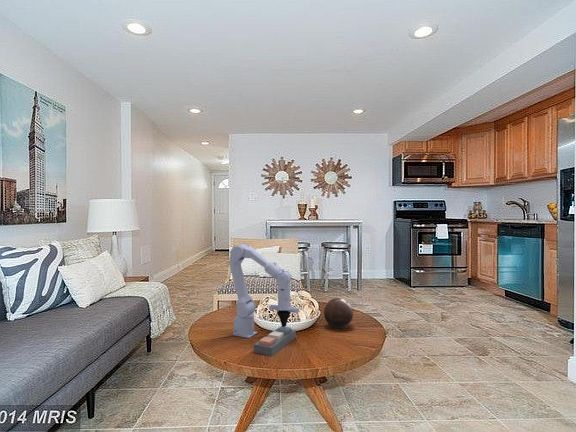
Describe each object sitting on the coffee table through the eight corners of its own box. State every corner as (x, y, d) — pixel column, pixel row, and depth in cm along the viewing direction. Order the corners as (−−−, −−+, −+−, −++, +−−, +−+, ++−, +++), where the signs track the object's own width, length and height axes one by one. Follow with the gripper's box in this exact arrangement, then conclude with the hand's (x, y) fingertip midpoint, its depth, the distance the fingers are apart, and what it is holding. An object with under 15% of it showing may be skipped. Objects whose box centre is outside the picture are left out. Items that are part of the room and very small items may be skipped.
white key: (268, 340, 155) (268, 334, 155) (273, 336, 160) (273, 331, 160) (278, 341, 153) (278, 336, 153) (283, 338, 158) (283, 332, 157)
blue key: (276, 334, 162) (276, 329, 162) (281, 331, 167) (281, 325, 167) (286, 336, 160) (286, 330, 160) (291, 332, 165) (291, 327, 165)
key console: (253, 352, 148) (253, 344, 148) (279, 334, 169) (279, 327, 169) (271, 356, 144) (271, 347, 144) (295, 337, 165) (295, 330, 165)
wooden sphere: (355, 332, 172) (355, 302, 172) (325, 332, 173) (325, 302, 172) (350, 322, 187) (350, 295, 187) (322, 322, 188) (322, 295, 187)
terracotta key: (259, 346, 148) (259, 340, 148) (265, 342, 153) (265, 336, 152) (269, 348, 146) (269, 342, 146) (275, 344, 150) (275, 338, 150)
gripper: (266, 297, 163) (266, 326, 163) (294, 301, 157) (294, 331, 157) (273, 294, 169) (273, 322, 169) (300, 297, 163) (300, 326, 163)
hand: (284, 326), depth 163 cm, fingers closed
